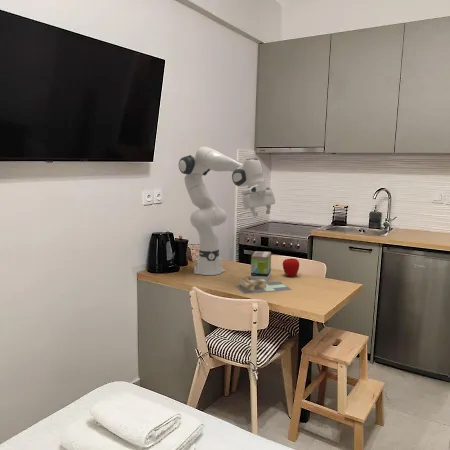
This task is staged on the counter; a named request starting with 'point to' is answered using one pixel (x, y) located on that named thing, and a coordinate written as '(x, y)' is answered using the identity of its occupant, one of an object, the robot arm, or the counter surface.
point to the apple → (291, 267)
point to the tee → (252, 284)
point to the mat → (267, 288)
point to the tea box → (260, 265)
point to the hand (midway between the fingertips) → (262, 215)
